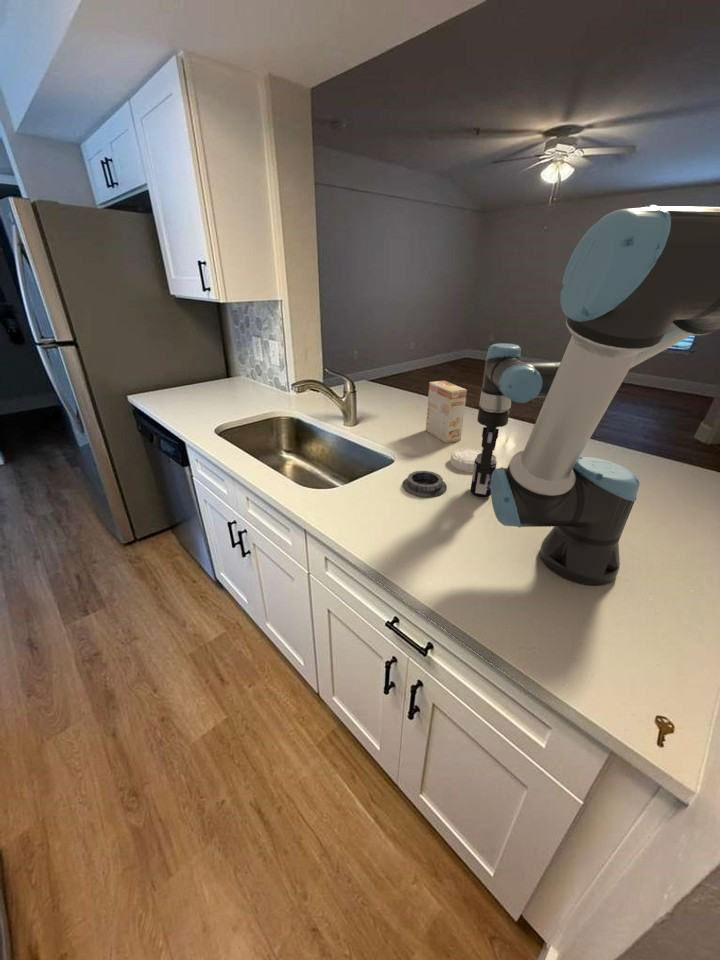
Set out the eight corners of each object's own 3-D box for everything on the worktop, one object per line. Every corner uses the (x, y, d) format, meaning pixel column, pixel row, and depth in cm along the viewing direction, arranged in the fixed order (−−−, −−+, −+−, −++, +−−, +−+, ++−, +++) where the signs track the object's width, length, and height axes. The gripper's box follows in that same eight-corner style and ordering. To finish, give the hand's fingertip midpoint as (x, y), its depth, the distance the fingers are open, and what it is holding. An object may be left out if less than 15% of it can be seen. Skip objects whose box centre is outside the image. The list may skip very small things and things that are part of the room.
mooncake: (445, 468, 126) (447, 458, 125) (455, 454, 136) (456, 444, 134) (483, 475, 122) (485, 465, 120) (490, 460, 131) (491, 451, 130)
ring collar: (443, 500, 108) (444, 492, 107) (397, 493, 112) (398, 485, 110) (449, 479, 119) (450, 472, 118) (407, 473, 122) (408, 466, 121)
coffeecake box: (461, 440, 146) (468, 389, 137) (445, 443, 144) (450, 391, 135) (440, 427, 159) (444, 379, 149) (424, 430, 156) (428, 381, 147)
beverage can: (476, 501, 108) (482, 462, 102) (466, 491, 112) (471, 453, 107) (494, 498, 109) (501, 459, 103) (483, 489, 114) (489, 451, 108)
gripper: (509, 426, 87) (494, 506, 97) (510, 396, 108) (497, 464, 118) (475, 422, 89) (463, 501, 99) (482, 393, 110) (472, 460, 120)
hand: (482, 481), depth 109 cm, fingers open, 13 cm apart
